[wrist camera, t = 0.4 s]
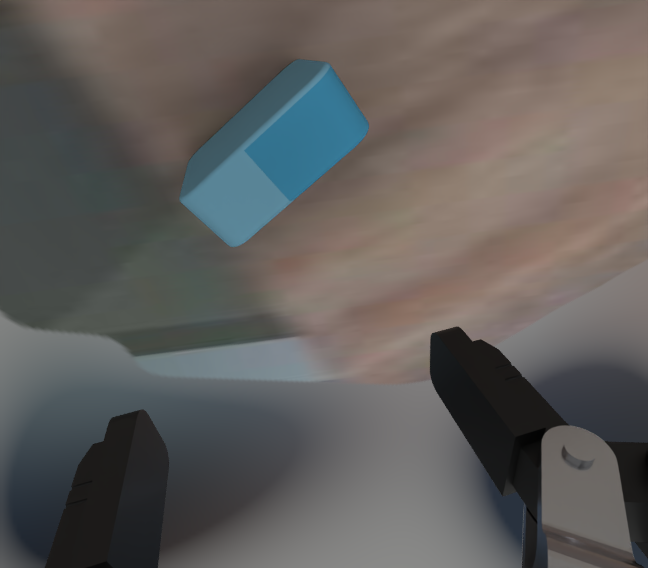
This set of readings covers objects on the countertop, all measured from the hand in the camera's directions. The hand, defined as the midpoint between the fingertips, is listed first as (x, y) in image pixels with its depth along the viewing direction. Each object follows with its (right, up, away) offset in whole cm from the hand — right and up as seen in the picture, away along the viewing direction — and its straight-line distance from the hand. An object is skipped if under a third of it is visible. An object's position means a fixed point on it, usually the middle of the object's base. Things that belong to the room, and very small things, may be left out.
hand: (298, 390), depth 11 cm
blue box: (-5, +16, +22) cm, 28 cm away
